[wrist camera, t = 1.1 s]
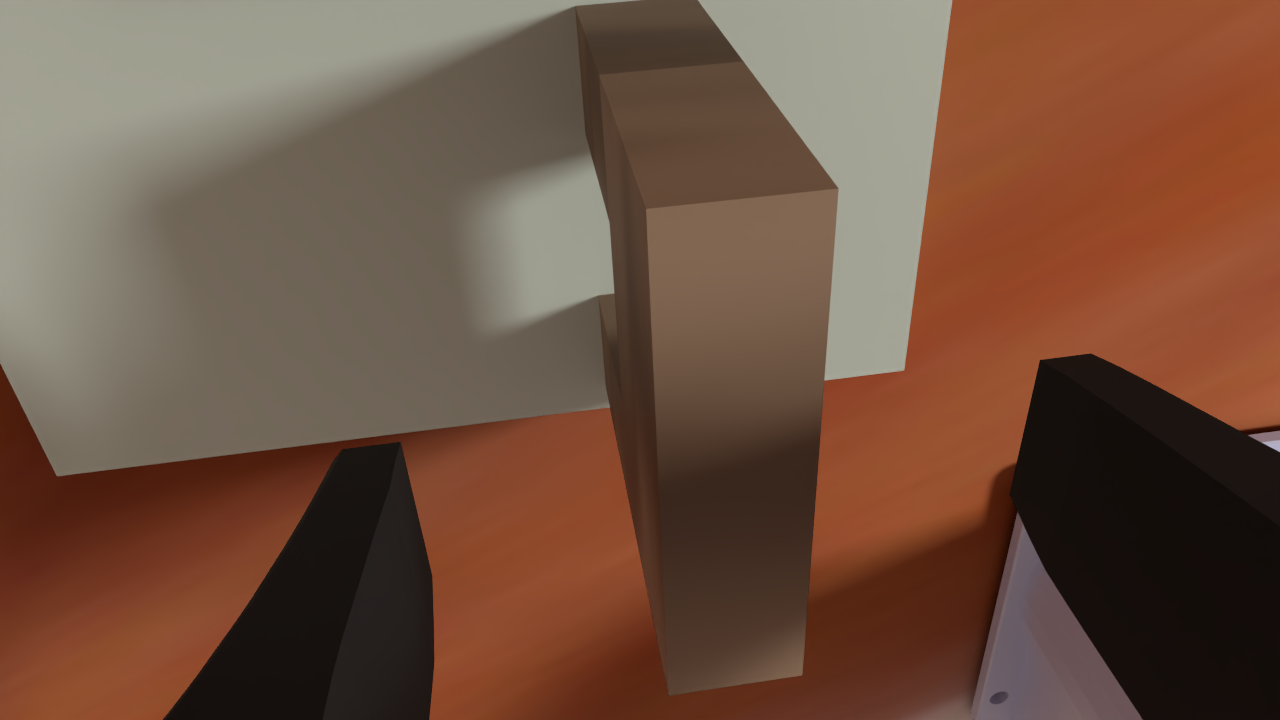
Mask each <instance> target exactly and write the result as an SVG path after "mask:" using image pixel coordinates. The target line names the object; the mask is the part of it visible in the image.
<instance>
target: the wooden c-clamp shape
mask: <svg viewBox="0 0 1280 720" xmlns="http://www.w3.org/2000/svg"><path fill="white" fill-rule="evenodd" d="M575 10H576V23H577V35H578V48H579V60H580V72H581V85H582V97H583V110H584V122H585V134H586V138H587V142H588V145H589V149H590V153H591V156H592V160H593V164H594V167H595V171H596V175H597V178H598V182H599V186H600V190H601V193H602V197H603V201H604V204H605V208H606V212H607V215H608V219H609V223H610V237H611V252H612V266H613V280H614V294H606V295H598V296H599V309H600V321H601V334H602V346H603V359H604V371H605V384H606V390H607V395H608V400H609V405H610V410H611V415H612V420H613V425H614V430H615V435H616V440H617V445H618V450H619V454H620V459H621V464H622V469H623V474H624V479H625V484H626V489H627V494H628V499H629V504H630V509H631V514H632V519H633V524H634V529H635V534H636V538H637V543H638V548H639V553H640V558H641V563H642V568H643V573H644V578H645V583H646V588H647V593H648V598H649V603H650V608H651V613H652V617H653V622H654V627H655V632H656V637H657V642H658V647H659V652H660V657H661V662H662V667H663V672H664V677H665V682H666V687H667V692H668V696H671V695H678V694H684V693H691V692H697V691H704V690H710V689H717V688H723V687H730V686H736V685H743V684H749V683H756V682H762V681H769V680H775V679H782V678H788V677H795V676H801V675H802V674H803V660H804V647H805V633H806V620H807V607H808V593H809V580H810V566H811V553H812V539H813V526H814V513H815V499H816V486H817V472H818V459H819V446H820V432H821V419H822V405H823V392H824V379H825V365H826V352H827V338H828V325H829V312H830V298H831V285H832V271H833V258H834V245H835V231H836V218H837V204H838V191H839V188H838V187H837V186H836V184H835V183H834V182H833V180H832V179H831V178H830V176H829V175H828V174H827V172H826V171H825V170H824V168H823V167H822V166H821V164H820V163H819V162H818V160H817V159H816V158H815V156H814V155H813V154H812V152H811V151H810V150H809V148H808V147H807V146H806V144H805V143H804V142H803V140H802V139H801V138H800V136H799V135H798V134H797V132H796V131H795V129H794V128H793V127H792V125H791V124H790V123H789V121H788V120H787V119H786V117H785V116H784V115H783V113H782V112H781V111H780V109H779V108H778V107H777V105H776V104H775V103H774V101H773V100H772V99H771V97H770V96H769V95H768V93H767V92H766V91H765V89H764V88H763V87H762V85H761V84H760V83H759V81H758V80H757V79H756V77H755V76H754V75H753V73H752V72H751V71H750V69H749V68H748V67H747V65H746V64H745V63H744V61H743V60H742V59H741V57H740V56H739V55H738V53H737V52H736V51H735V49H734V48H733V47H732V45H731V44H730V43H729V41H728V40H727V39H726V37H725V36H724V35H723V33H722V32H721V31H720V29H719V28H718V27H717V25H716V24H715V23H714V21H713V20H712V19H711V17H710V16H709V15H708V13H707V12H706V11H705V9H704V8H703V7H702V5H701V4H700V3H699V1H698V0H638V1H627V2H615V3H603V4H592V5H580V6H575Z"/></svg>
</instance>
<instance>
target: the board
mask: <svg viewBox="0 0 1280 720" xmlns="http://www.w3.org/2000/svg"><path fill="white" fill-rule="evenodd" d="M627 1H638V0H0V364H1V366H2V368H3V370H4V372H5V374H6V376H7V378H8V380H9V382H10V384H11V386H12V388H13V390H14V392H15V394H16V396H17V398H18V400H19V402H20V404H21V406H22V408H23V410H24V412H25V414H26V416H27V418H28V420H29V422H30V424H31V426H32V428H33V430H34V432H35V434H36V436H37V438H38V440H39V442H40V444H41V446H42V448H43V450H44V452H45V454H46V456H47V458H48V460H49V462H50V464H51V466H52V468H53V470H54V472H55V474H56V476H64V475H72V474H80V473H88V472H96V471H104V470H112V469H120V468H128V467H136V466H144V465H152V464H160V463H168V462H176V461H184V460H192V459H200V458H208V457H216V456H224V455H232V454H240V453H248V452H256V451H264V450H272V449H280V448H288V447H296V446H304V445H312V444H320V443H328V442H336V441H344V440H352V439H360V438H368V437H376V436H384V435H392V434H400V433H408V432H416V431H424V430H432V429H440V428H448V427H456V426H464V425H472V424H480V423H488V422H496V421H504V420H512V419H520V418H528V417H536V416H544V415H552V414H560V413H568V412H576V411H584V410H592V409H600V408H608V407H610V405H609V400H608V395H607V390H606V384H605V371H604V359H603V346H602V334H601V321H600V309H599V296H598V295H606V294H614V280H613V266H612V252H611V237H610V223H609V219H608V215H607V212H606V208H605V204H604V201H603V197H602V193H601V190H600V186H599V182H598V178H597V175H596V171H595V167H594V164H593V160H592V156H591V153H590V149H589V145H588V142H587V138H586V134H585V122H584V110H583V97H582V85H581V72H580V60H579V48H578V35H577V23H576V10H575V6H580V5H592V4H603V3H615V2H627ZM698 1H699V3H700V4H701V5H702V7H703V8H704V9H705V11H706V12H707V13H708V15H709V16H710V17H711V19H712V20H713V21H714V23H715V24H716V25H717V27H718V28H719V29H720V31H721V32H722V33H723V35H724V36H725V37H726V39H727V40H728V41H729V43H730V44H731V45H732V47H733V48H734V49H735V51H736V52H737V53H738V55H739V56H740V57H741V59H742V60H743V61H744V63H745V64H746V65H747V67H748V68H749V69H750V71H751V72H752V73H753V75H754V76H755V77H756V79H757V80H758V81H759V83H760V84H761V85H762V87H763V88H764V89H765V91H766V92H767V93H768V95H769V96H770V97H771V99H772V100H773V101H774V103H775V104H776V105H777V107H778V108H779V109H780V111H781V112H782V113H783V115H784V116H785V117H786V119H787V120H788V121H789V123H790V124H791V125H792V127H793V128H794V129H795V131H796V132H797V134H798V135H799V136H800V138H801V139H802V140H803V142H804V143H805V144H806V146H807V147H808V148H809V150H810V151H811V152H812V154H813V155H814V156H815V158H816V159H817V160H818V162H819V163H820V164H821V166H822V167H823V168H824V170H825V171H826V172H827V174H828V175H829V176H830V178H831V179H832V180H833V182H834V183H835V184H836V186H837V187H838V188H839V191H838V204H837V218H836V231H835V245H834V258H833V271H832V285H831V298H830V312H829V325H828V338H827V352H826V365H825V379H824V380H832V379H840V378H848V377H856V376H864V375H872V374H880V373H888V372H896V371H904V367H905V360H906V352H907V344H908V337H909V329H910V321H911V314H912V306H913V298H914V290H915V283H916V275H917V267H918V260H919V252H920V244H921V237H922V229H923V221H924V214H925V206H926V198H927V191H928V183H929V175H930V167H931V160H932V152H933V144H934V137H935V129H936V121H937V114H938V106H939V98H940V91H941V83H942V75H943V68H944V60H945V52H946V44H947V37H948V29H949V21H950V14H951V6H952V0H698Z"/></svg>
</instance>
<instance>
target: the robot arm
mask: <svg viewBox="0 0 1280 720" xmlns="http://www.w3.org/2000/svg"><path fill="white" fill-rule="evenodd" d="M1010 496H1011V498H1012V501H1013V503H1014V505H1015V507H1016V510H1017V516H1016V520H1015V525H1014V529H1013V533H1012V538H1011V542H1010V546H1009V550H1008V555H1007V559H1006V563H1005V568H1004V572H1003V576H1002V580H1001V585H1000V589H999V593H998V598H997V602H996V606H995V611H994V615H993V619H992V623H991V628H990V632H989V636H988V641H987V645H986V649H985V653H984V658H983V662H982V666H981V671H980V675H979V679H978V684H977V688H976V692H975V696H974V701H973V705H972V709H971V718H972V720H1280V431H1274V432H1267V433H1259V434H1252V435H1246V434H1245V433H1243V432H1241V431H1239V430H1237V429H1235V428H1233V427H1231V426H1230V425H1228V424H1226V423H1224V422H1222V421H1220V420H1218V419H1217V418H1215V417H1213V416H1211V415H1209V414H1207V413H1205V412H1204V411H1202V410H1200V409H1198V408H1196V407H1194V406H1192V405H1191V404H1189V403H1187V402H1185V401H1183V400H1181V399H1180V398H1178V397H1176V396H1174V395H1172V394H1170V393H1168V392H1167V391H1165V390H1163V389H1161V388H1159V387H1157V386H1155V385H1153V384H1151V383H1150V382H1148V381H1146V380H1144V379H1142V378H1140V377H1138V376H1136V375H1134V374H1132V373H1130V372H1128V371H1127V370H1125V369H1123V368H1121V367H1119V366H1116V365H1114V364H1112V363H1110V362H1108V361H1106V360H1104V359H1102V358H1099V357H1097V356H1095V355H1093V354H1084V355H1076V356H1068V357H1061V358H1053V359H1045V360H1040V363H1039V367H1038V372H1037V376H1036V380H1035V385H1034V389H1033V394H1032V398H1031V402H1030V407H1029V411H1028V416H1027V420H1026V425H1025V429H1024V433H1023V438H1022V442H1021V447H1020V451H1019V455H1018V460H1017V464H1016V469H1015V473H1014V478H1013V482H1012V486H1011V491H1010ZM433 670H434V620H433V585H432V573H431V569H430V565H429V560H428V556H427V552H426V548H425V543H424V539H423V535H422V531H421V526H420V522H419V518H418V514H417V510H416V505H415V501H414V497H413V493H412V488H411V484H410V480H409V476H408V471H407V467H406V463H405V459H404V455H403V450H402V446H401V442H397V443H389V444H381V445H373V446H365V447H358V448H350V449H343V450H342V451H341V452H340V453H339V454H338V456H337V457H336V458H335V459H334V461H333V462H332V464H331V466H330V468H329V470H328V472H327V474H326V476H325V477H324V479H323V481H322V483H321V485H320V486H319V488H318V490H317V492H316V494H315V495H314V497H313V499H312V501H311V503H310V504H309V506H308V508H307V510H306V511H305V513H304V515H303V517H302V518H301V520H300V522H299V523H298V525H297V527H296V528H295V530H294V532H293V533H292V535H291V537H290V538H289V540H288V542H287V544H286V545H285V547H284V548H283V550H282V552H281V553H280V555H279V556H278V558H277V559H276V561H275V563H274V564H273V566H272V567H271V569H270V570H269V572H268V574H267V575H266V577H265V578H264V580H263V581H262V583H261V585H260V586H259V588H258V589H257V591H256V592H255V594H254V596H253V597H252V599H251V600H250V602H249V603H248V605H247V606H246V608H245V609H244V611H243V612H242V614H241V615H240V616H239V618H238V619H237V621H236V622H235V623H234V625H233V626H232V628H231V629H230V630H229V632H228V633H227V635H226V636H225V637H224V639H223V640H222V642H221V643H220V644H219V646H218V647H217V649H216V650H215V651H214V653H213V654H212V656H211V657H210V658H209V660H208V661H207V663H206V664H205V665H204V667H203V668H202V670H201V671H200V672H199V674H198V675H197V677H196V678H195V679H194V680H193V682H192V683H191V684H190V686H189V687H188V688H187V690H186V691H185V692H184V693H183V695H182V696H181V697H180V699H179V700H178V701H177V702H176V704H175V705H174V706H173V708H172V709H171V710H170V711H169V713H168V714H167V715H166V716H165V718H164V719H163V720H429V715H430V704H431V693H432V682H433Z"/></svg>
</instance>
